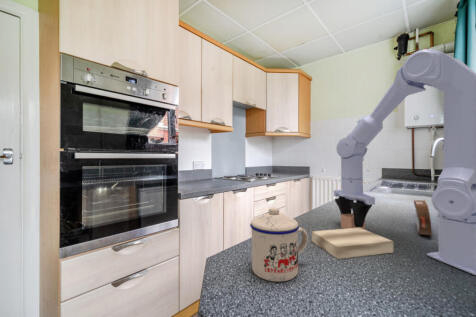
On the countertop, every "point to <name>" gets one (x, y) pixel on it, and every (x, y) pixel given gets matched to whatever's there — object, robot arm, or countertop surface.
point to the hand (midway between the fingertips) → (352, 224)
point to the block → (349, 221)
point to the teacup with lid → (276, 246)
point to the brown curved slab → (423, 218)
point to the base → (351, 242)
